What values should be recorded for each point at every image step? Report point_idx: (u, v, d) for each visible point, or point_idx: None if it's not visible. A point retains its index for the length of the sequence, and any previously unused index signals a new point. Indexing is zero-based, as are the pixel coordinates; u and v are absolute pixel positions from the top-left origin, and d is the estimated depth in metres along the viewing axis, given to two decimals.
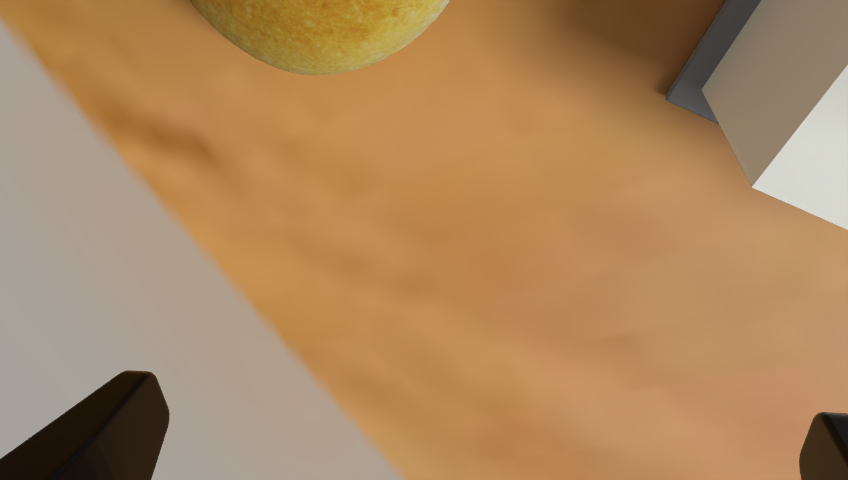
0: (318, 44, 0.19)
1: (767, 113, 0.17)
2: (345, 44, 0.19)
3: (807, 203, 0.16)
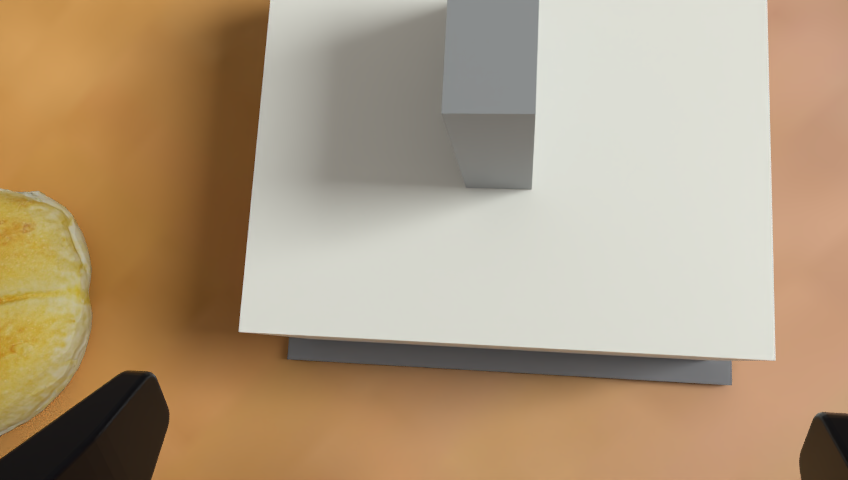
0: None
1: None
2: None
3: (289, 327, 0.18)
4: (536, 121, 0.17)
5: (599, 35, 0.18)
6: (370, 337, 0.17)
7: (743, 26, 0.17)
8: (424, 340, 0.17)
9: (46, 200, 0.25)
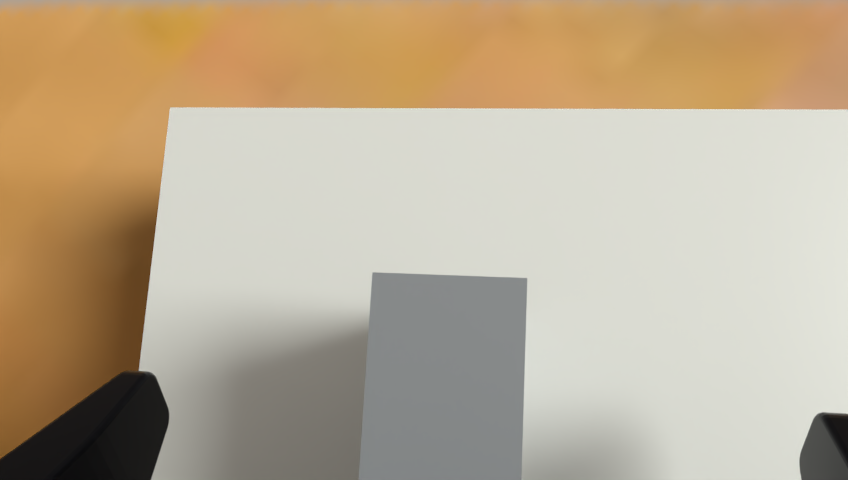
0: None
1: None
2: None
3: None
4: None
5: (615, 380, 0.12)
6: None
7: (829, 380, 0.12)
8: None
9: None
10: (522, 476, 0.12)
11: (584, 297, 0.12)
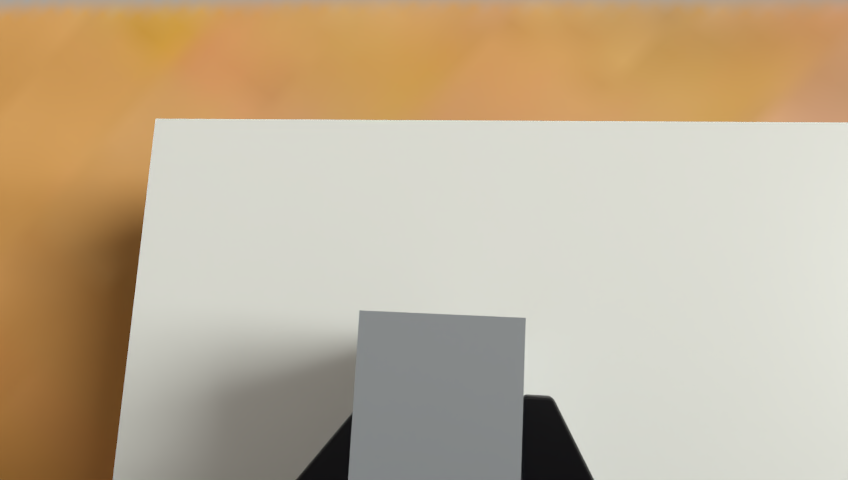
0: None
1: None
2: None
3: None
4: None
5: (618, 406, 0.12)
6: None
7: (842, 406, 0.11)
8: None
9: None
10: None
11: (586, 318, 0.12)
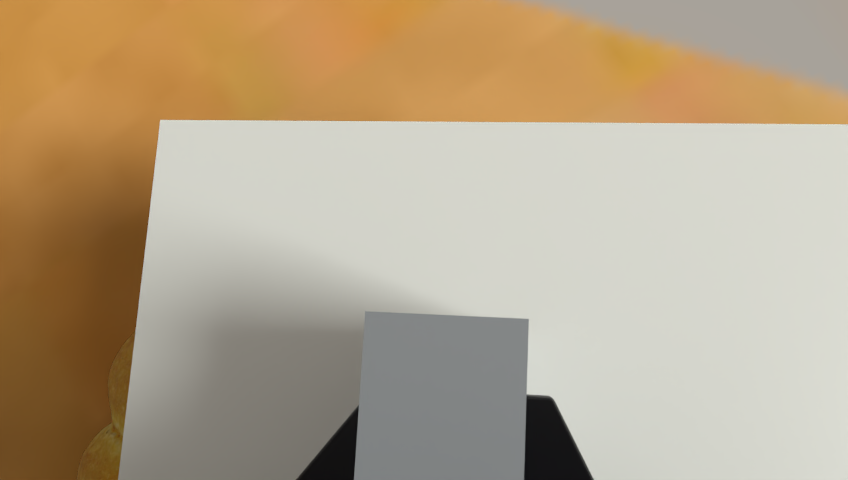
0: None
1: None
2: None
3: None
4: None
5: (619, 405, 0.12)
6: None
7: (841, 406, 0.11)
8: None
9: None
10: None
11: (587, 318, 0.12)
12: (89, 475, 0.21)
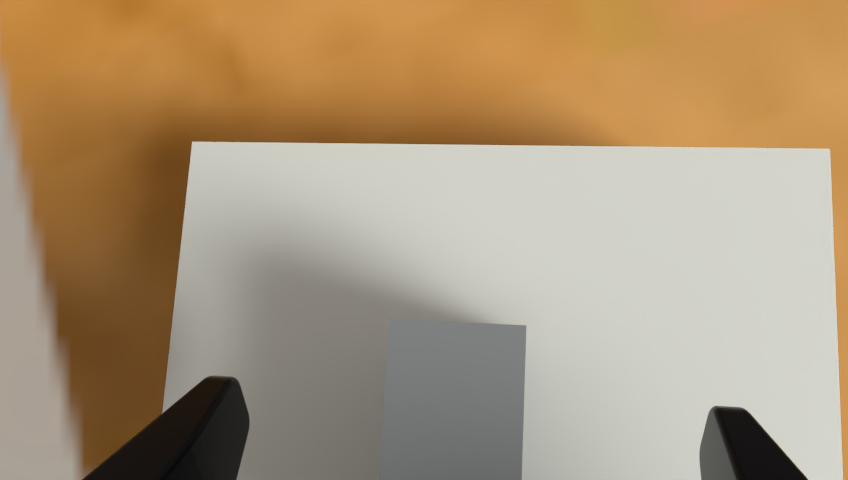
0: None
1: None
2: None
3: None
4: None
5: (608, 400, 0.13)
6: None
7: (806, 401, 0.13)
8: None
9: None
10: None
11: (579, 322, 0.13)
12: None
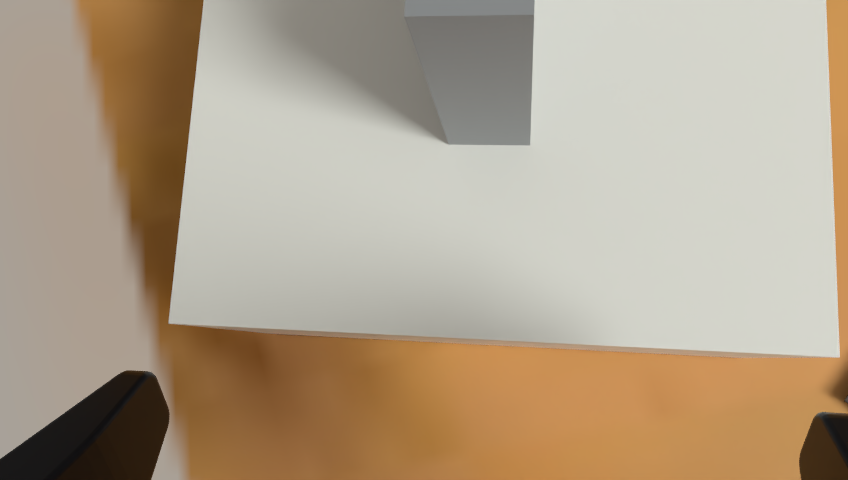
0: None
1: None
2: None
3: (231, 317, 0.14)
4: (535, 62, 0.14)
5: None
6: (329, 329, 0.14)
7: None
8: (396, 333, 0.14)
9: None
10: (535, 35, 0.14)
11: None
12: None
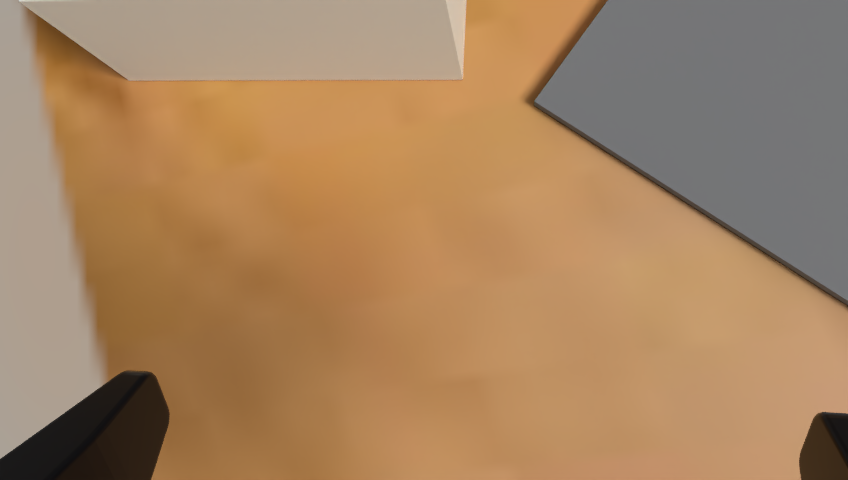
0: None
1: None
2: None
3: None
4: None
5: None
6: None
7: None
8: None
9: None
10: None
11: None
12: None
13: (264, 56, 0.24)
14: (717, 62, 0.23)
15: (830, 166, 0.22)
